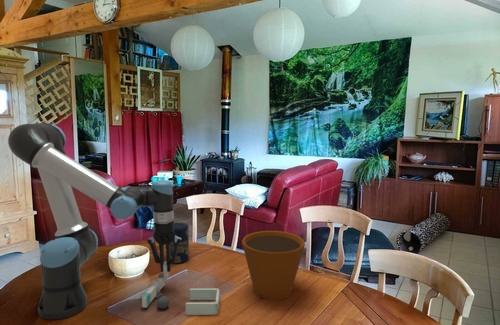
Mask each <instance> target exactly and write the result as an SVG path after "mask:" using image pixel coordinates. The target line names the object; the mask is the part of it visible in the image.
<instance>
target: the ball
mask: <svg viewBox="0 0 500 325" xmlns="http://www.w3.org/2000/svg"><path fill="white" fill-rule="evenodd" d="M169 303H170V301H169V298H168V297H167V296H164V295H162V296H161V297H160V298H157V301H156V304H157V307H158V308H159V309H163V310H164V309H166V308H167V307H168V306H169Z"/></svg>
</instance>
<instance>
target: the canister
mask: <svg viewBox="0 0 500 325" xmlns="http://www.w3.org/2000/svg"><path fill="white" fill-rule="evenodd" d="M174 232H175V234H176V236H177V237H181V238H182V239H181V241H180V243H179V245H178V250H177V254H176V259H175V261H174V263H179V264H180V263H184V262H186V261H187V260H189V257H190V254H189V253H190V249H189V246H190V244H189V243H190V239H189V238H190V237H189V236H190V234H189V224H187V223H186V222H174ZM175 243H176V242H175V239H173V241H172V242H171V245H170V250H171V259H172V255H173V251H174V246H175Z"/></svg>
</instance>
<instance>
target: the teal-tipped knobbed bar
mask: <svg viewBox="0 0 500 325" xmlns="http://www.w3.org/2000/svg"><path fill="white" fill-rule="evenodd" d="M150 283H151V284H150V285H151V286H150V287H149V288H148V290H146V292H145V293H144V294H143V295H142V296H141V308H144V309H145V308H148V307H149V305H150V304H151V303H152V301H153V300H155V299H154V298H155V296H156V295H158V294H160V292H161V290H162V289H163V288H164V286H165V281H164V275H163V272H161V273H159V274H158V278H157V279H152V280H151V282H150Z"/></svg>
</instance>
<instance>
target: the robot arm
mask: <svg viewBox="0 0 500 325" xmlns="http://www.w3.org/2000/svg"><path fill="white" fill-rule="evenodd" d="M7 138H8V139H7V142H8V143H7V144H8V147H9V149H10V151H11V153H13V155H15V157H17V158H18V159H20V160H21V161H22V162H24V163H25V164H28V165H29V166H31V167H33V168H37V170H38V173H39V176H40V180H41V183H42V185H43V188H44V192H45V195H46V198H47V200H48V201H47V202H48V204H49V206H50V209H51V212H52V215H53V219H54V222H55V225H56V229H57V230H56V232H55V233H54V237H55V239H54V240H52V239H51V240H50V241H47V242H46V243H45V244H43V246H42V247H41V249H40V256H39V262H40V268H41V269H40V270H41V283H42V284H41V286H42V292H41V295H40V299H39V302H38V305H37V312H38V316H39V315H40V316H41V317H42V319H44V318H45V320H51V321H53V320H60V319H61V320H62V319H67V318H69V317H72V316H75V315H78V314H79V313H80V312H82V311H83V310H84V309H85V308H86V307H87V306H88V296H87V293H86V291H85V289H84V287H83V285H82V281H81V267H82V266H83V265H84V264H85V263H86V262H87V261H88V260H89V259H91V258H92V256H94V254H95V252H96V251H97V249H98V245H99V241H98V239H99V238H98V236H97V234H96V233H95V231H94V230H92V229H91V228H90V226H89V224H88V223H87V222H85V221H83V219H82V216H81V213H80V209H79V207H78V204H77V200H76V197H75V195H74V192H73V188H74V189H76V190H78V191H79V192H80V193H83V194H84V195H85V196H88V197H89V198H91V199H92V200H94V201H96V202H98V203H99V204H102V205H103V206H104V207H106V208H108V209H110V214H112V216H113V217H114V218H116V219H118V220H126V219H129V218H130V217H133V216H134V214H136V212H138V210H139V209H140V208H142V207H144V208H146V207H148V208H149V207H150V208H151V207H152V215H153V221H154V222H153V235H152V236H151V237H149V238H148V239H147V244H148V245H149V246H150V249H151V253H152V256H153V259H154V262H155V264H159V266H160V272H161V273H163V275H164V282H168V280H169V278H170V277H169V276H170V275H169V274H170V273H169V272H171V271H172V264H174V263H175V262H174V261H175V259H176V254H177V250H178V245H179V243H180V241H181V239H182V238H181V237H177V236H176V234H175V232H174V223H175V221H174V218H175V214H174V212H175V211H174V191H173V183H172V181H170V180H168V179H167V180H165V179H160V180H154V181H152V183H151V186H125V187H123V186H122V187H119V186H117V185H116V184H114V183H113V182H111V181H109V180H107V179H105V178H104V177H103V176H101V175H99V174H98V173H95V171H93V170H91V169H89V167H88V168H87V167H86V166H84V165H83V164H81V163H80V162H77V161H76V160H74V159H73V158H72V157H70V156H68V155H66V154H67V153H66V151H65V146H66V143H67V138H66V135H65V133H64V131H63V129H62V128H60V127H59V126H57V125H55V124H53V123H47V122H40V123H23V124H20V125H17V126H16V127H14V128H13V129H12V130H11V132H10V133H9V135H8V137H7ZM173 239H175V242H176V243H175V246H174V251H173V255H172V259H171V250H170V245H171V242H172V241H173ZM155 241H156V242H155ZM156 243H157V244H158V248H157V246H156ZM158 249H159V250H158ZM158 251H159V253H158ZM165 254H166V255H165ZM165 258H166V260H165ZM40 316H39V317H40ZM41 317H40V318H41Z"/></svg>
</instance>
